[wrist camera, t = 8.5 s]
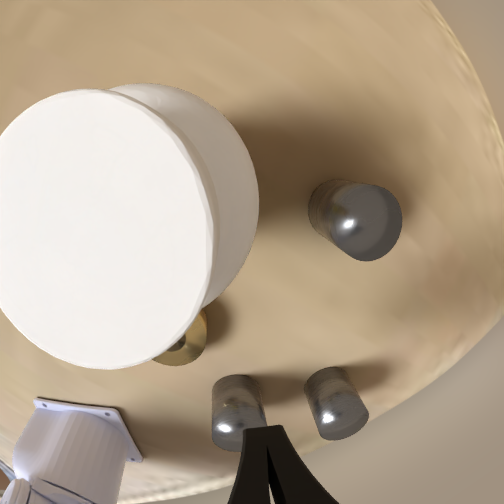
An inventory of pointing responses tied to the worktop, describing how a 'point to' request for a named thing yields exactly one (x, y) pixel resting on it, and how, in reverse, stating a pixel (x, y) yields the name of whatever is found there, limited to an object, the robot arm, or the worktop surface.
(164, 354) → the nut
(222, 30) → the worktop surface
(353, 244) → the grey metal cylinder
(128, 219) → the supplement bottle
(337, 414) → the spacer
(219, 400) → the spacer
